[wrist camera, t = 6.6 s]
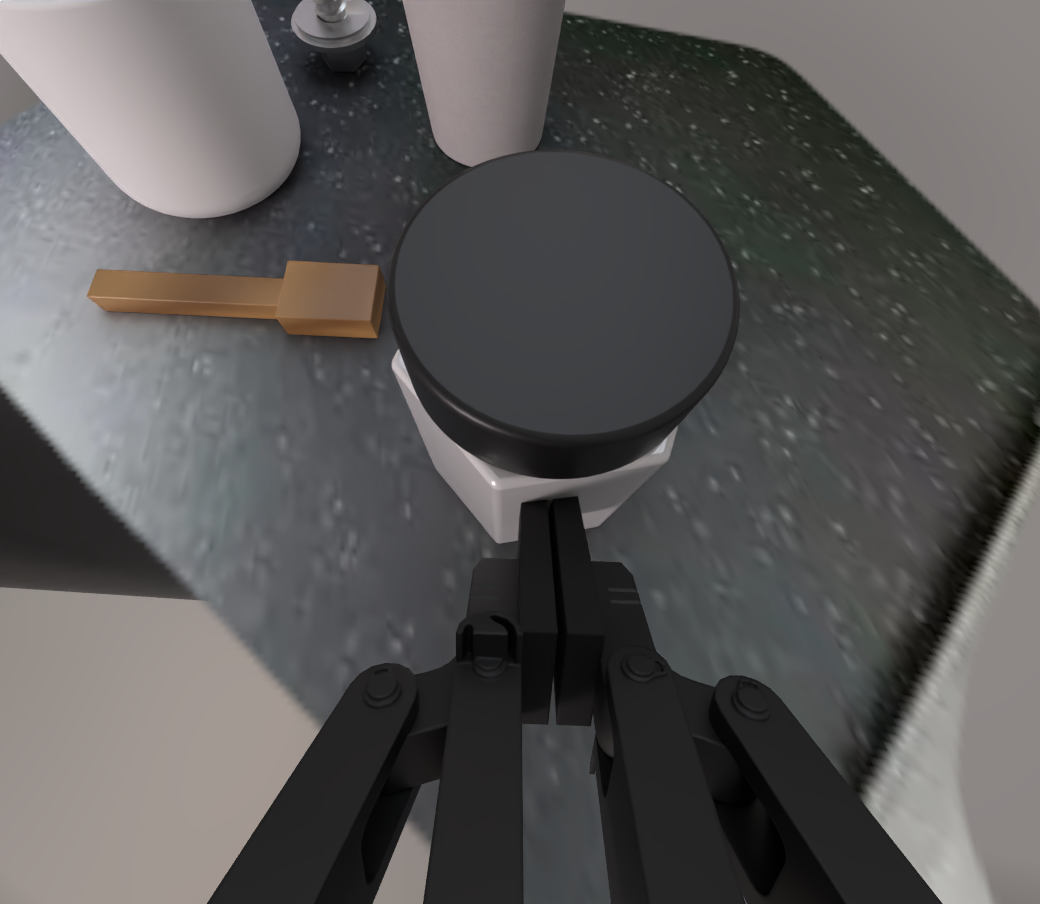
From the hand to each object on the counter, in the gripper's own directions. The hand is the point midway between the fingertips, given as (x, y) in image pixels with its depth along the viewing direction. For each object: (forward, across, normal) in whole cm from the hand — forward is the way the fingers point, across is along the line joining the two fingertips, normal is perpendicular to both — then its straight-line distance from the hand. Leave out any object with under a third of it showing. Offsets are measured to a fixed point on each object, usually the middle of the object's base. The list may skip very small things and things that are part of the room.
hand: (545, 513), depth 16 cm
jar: (+7, 0, -1) cm, 7 cm away
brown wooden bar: (+11, -14, +4) cm, 19 cm away
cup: (+18, -18, +11) cm, 28 cm away
